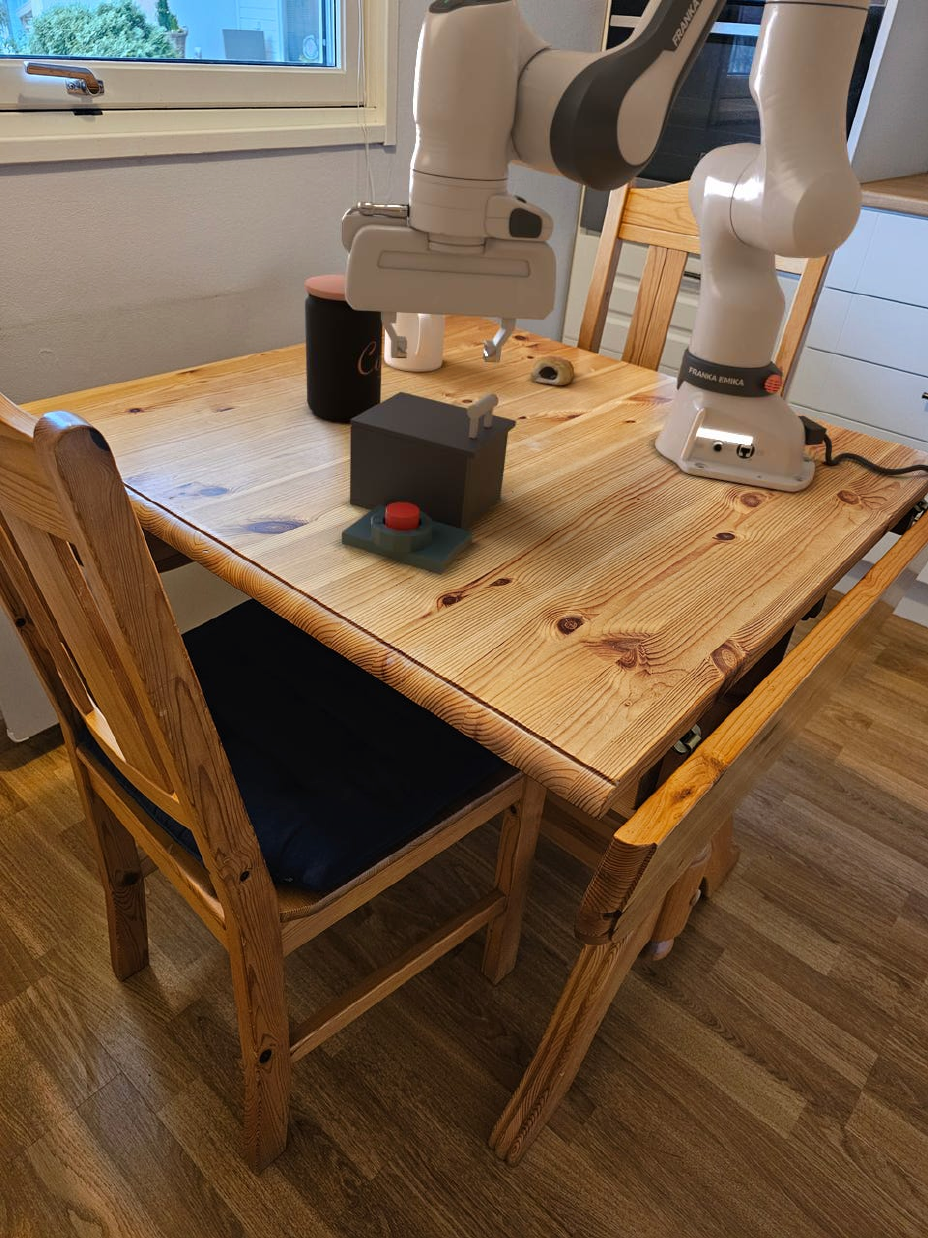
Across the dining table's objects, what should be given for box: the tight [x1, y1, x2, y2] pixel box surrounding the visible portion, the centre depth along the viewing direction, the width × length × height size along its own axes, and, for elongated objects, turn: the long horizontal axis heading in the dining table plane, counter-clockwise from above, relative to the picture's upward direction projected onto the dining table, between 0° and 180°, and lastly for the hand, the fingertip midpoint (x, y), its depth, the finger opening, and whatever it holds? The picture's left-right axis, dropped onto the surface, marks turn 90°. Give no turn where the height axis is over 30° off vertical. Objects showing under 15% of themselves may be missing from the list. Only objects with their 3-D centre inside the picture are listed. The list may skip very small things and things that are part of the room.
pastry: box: [530, 355, 575, 386], centre depth 146 cm, size 9×7×4 cm
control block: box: [341, 505, 473, 575], centre depth 93 cm, size 12×9×4 cm
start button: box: [385, 502, 420, 531], centre depth 91 cm, size 4×4×2 cm
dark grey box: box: [349, 425, 509, 531], centre depth 100 cm, size 15×12×10 cm
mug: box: [384, 312, 447, 373], centre depth 143 cm, size 13×10×10 cm
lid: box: [349, 391, 517, 459], centre depth 96 cm, size 15×12×4 cm
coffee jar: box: [304, 274, 384, 424], centre depth 121 cm, size 11×11×18 cm
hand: (445, 358), depth 85 cm, fingers open, 8 cm apart
